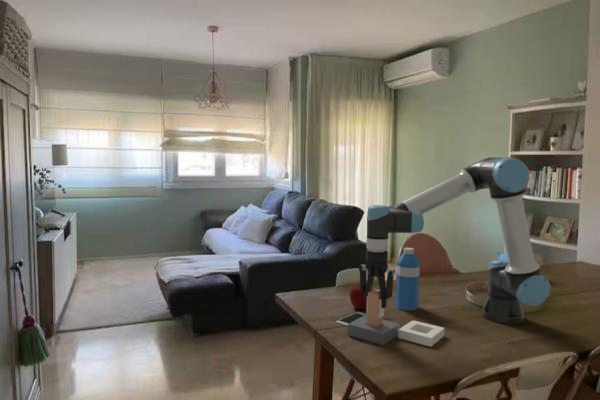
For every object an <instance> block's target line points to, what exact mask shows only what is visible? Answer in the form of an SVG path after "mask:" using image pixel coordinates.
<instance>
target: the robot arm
mask: <svg viewBox="0 0 600 400" xmlns="http://www.w3.org/2000/svg"><path fill="white" fill-rule="evenodd" d="M529 181H530V171H529V169H528V167H527V165H526V163H524V162H523V161H522V160H520V159H518V158H513V157H508V156H504V157H503V156H502V157H500V156H499V157H497V156H496V157H495V156H494V157H486V158H483V159H480V160H479V161H476V162H474V163H473V164H471V165H469V166H466V167H464V168H463V169H460V171H459V174H457V175H454V176H452V177H451V178H448V179H446V180H444V181H442V182H440V183H438V184H436V185H434V186H432V187H430V188H428V189H426V190H424V191H421V192H420V193H418V194H415V195H414V196H412V197H409V198H407V199H406V200H404V201H402V202H399V203H397V204H396V205H381V204H380V205H379V204H378V205H377V204H376V205H375V204H373V205H369V206H368V208H367V211H366V212H367V215H366V244H365V246H366V247H365V248H366V249H367V250H365V260H366V261H365V263H364V264H360V265H358V271H359V285H360V292H361V293H363V294H364V295H365V304H367V309H366V313H365V314H367V311H368V292H370V290H372V289H373V285H374V284H373V283H374V280H375V277H376V278H377V281H378V286H379V288H378V289H379V290H380V294H381V298H380V299H379V315H378V317H379V318H381V317H383V318H384V316H385V308H387V304H388V302H387V300H389V299H390V298H392V297H393V292H394V291H393V288H394V277H395V273H396V270H395V269H392V268H390V267H389V265H388V261H389V251H388V250H389V238H390V237H389V234H414V233H415V234H417V233H421V232H422V231H423V229H424V226H425V225H424V224H425V223H424V222H425V219H424V216H423V215H424V214H427V213H428V212H430V211H433V210H434V209H436V208H438V207H440V206H442V205H444V204H447V203H449V202H451V201H453V200H455V199H457V198H459V197H460V196H461V197H462V196H463V195H465V194H467V193H471V194H473V193H475V192H477V191H480V190H485V189H489V195H490V198H491V200H493V201H494V202H495V203H496V207H497V211H498V217H499V222H500V226H501V227H500V228H501V232H502V237H503V242H504V248H505V253H506V254H507V259H508V260H498V259H494V260H491V261H490V263H489V267H488V285H487V286H488V289H487V298H486V299H485V302H484V305H483V307H482V311H481V313H482V314H481V315H482V317H483V318H485V319H487V320H489V321H492V322H495V323H499V324H506V325H507V324H508V325H509V324H510V325H511V324H512V325H513V324H515V325H516V324H521V323H522V322H524V316H525V314H524V311H523V310H524V309H523V307H522V304H523V305H526V306H528V307H534V306H538V305H541V304H542V303H544V302H545V301H546V299H547V298H548V297H549V295H550V292H551V284H550V282H549V280H548V279H547V278H546V277H545V276H543V275H542V270H541V266H540V264H539V263H538V262H536V261H535V257H534V258H533V256H534V253H533V249H532V243H531V237H530V236H531V235H530V233H529V231H530V230H529V226H528V221H527V216H526V210H525V206H524V199H523V197H524V196H525V194H526V193H527V189H526V187H527V186H528V183H530V182H529ZM367 272H368V274H367ZM386 275H387V277H386Z"/></svg>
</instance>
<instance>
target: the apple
mask: <svg viewBox="0 0 600 400" xmlns="http://www.w3.org/2000/svg"><path fill="white" fill-rule="evenodd" d="M349 300H350V303H351V305H352V306H353V308H355V309H358V310H362V311H363V310H365V311H366V310H367V304H365V295H364V294H363V293H361V292H360V284H354V285H353V286H352V287H350V291H349Z"/></svg>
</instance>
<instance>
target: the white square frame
mask: <svg viewBox="0 0 600 400" xmlns="http://www.w3.org/2000/svg"><path fill="white" fill-rule="evenodd" d="M444 337H445V327H442V326H438V325H433V324H430V323H426V322H421V321H417V320H411V321H409V322H408V323H406V324H404V325H403V326H402V327H401V326H400V327H399V329H398V336H397V338H398V339H400V340H405V341H408V342H412V343H416V344H419V345H422V346H427V347H431V348H432V347H433V346H434V345H435V344H436V343H437V342H439V341H441V339H443V338H444Z"/></svg>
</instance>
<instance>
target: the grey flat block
mask: <svg viewBox="0 0 600 400" xmlns="http://www.w3.org/2000/svg"><path fill="white" fill-rule="evenodd" d="M400 326H401V325H400V323H399V322H394V321H390V320H387V319H383V324H381V325H380V326H378V327H374V326H370V325H367V315H364V316H362V317H360V318H358V319H357V320H355V321H353V322H351V323H349V324H348V326H347V336H350V337H353V338H357V339H361V340H363V341H368V342H371V343H374V344H378V345H381V346H384V345H385V344H388V343H389V342H391V341H392V340H394V339H395V338H397V337H398V329H400Z"/></svg>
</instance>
